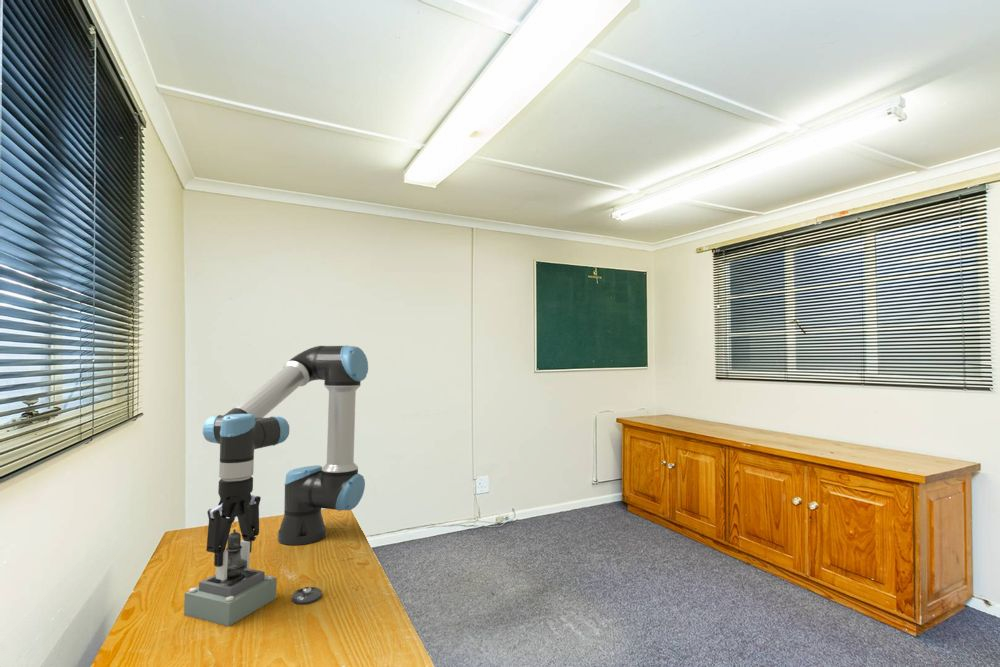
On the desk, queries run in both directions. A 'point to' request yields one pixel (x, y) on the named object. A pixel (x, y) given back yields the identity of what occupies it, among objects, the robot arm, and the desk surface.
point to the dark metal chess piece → (234, 559)
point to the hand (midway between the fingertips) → (232, 573)
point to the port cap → (306, 595)
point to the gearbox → (230, 597)
